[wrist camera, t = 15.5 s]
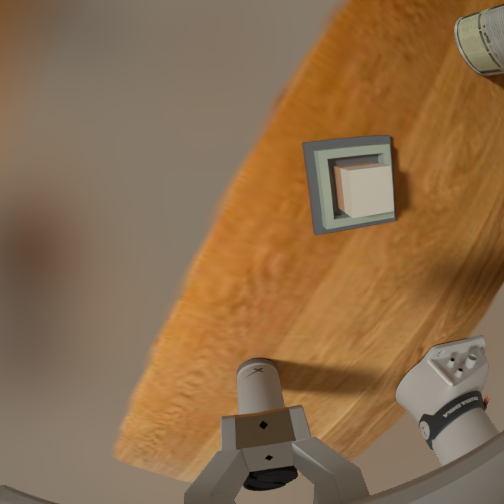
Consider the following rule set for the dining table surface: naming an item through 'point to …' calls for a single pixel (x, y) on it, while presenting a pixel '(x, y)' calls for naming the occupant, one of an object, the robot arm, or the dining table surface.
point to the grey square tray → (323, 182)
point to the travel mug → (257, 400)
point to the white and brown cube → (364, 188)
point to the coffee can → (482, 40)
